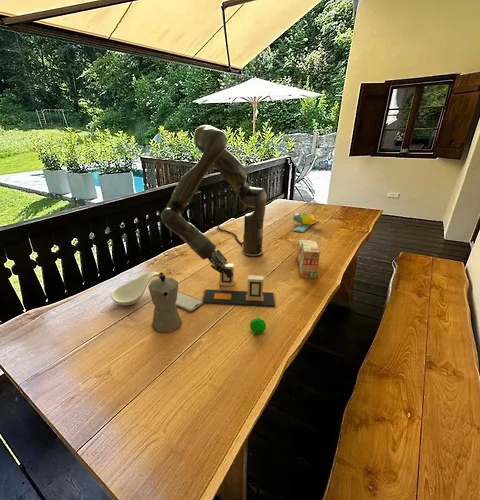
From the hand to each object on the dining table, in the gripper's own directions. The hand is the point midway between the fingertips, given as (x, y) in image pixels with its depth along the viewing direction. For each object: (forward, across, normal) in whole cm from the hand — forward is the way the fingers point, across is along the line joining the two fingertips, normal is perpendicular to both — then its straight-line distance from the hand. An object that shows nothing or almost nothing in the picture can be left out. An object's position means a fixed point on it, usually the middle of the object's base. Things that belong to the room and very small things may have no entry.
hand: (231, 273), depth 122 cm
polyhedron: (+10, -30, -3) cm, 32 cm away
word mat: (+6, -11, +1) cm, 12 cm away
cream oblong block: (+2, 0, +5) cm, 5 cm away
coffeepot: (-11, -28, +18) cm, 35 cm away
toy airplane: (+34, +80, -27) cm, 91 cm away
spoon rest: (-21, -12, +28) cm, 37 cm away
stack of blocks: (+27, +19, -20) cm, 38 cm away
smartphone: (-9, -15, +16) cm, 24 cm away
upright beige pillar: (+9, -11, -4) cm, 15 cm away
